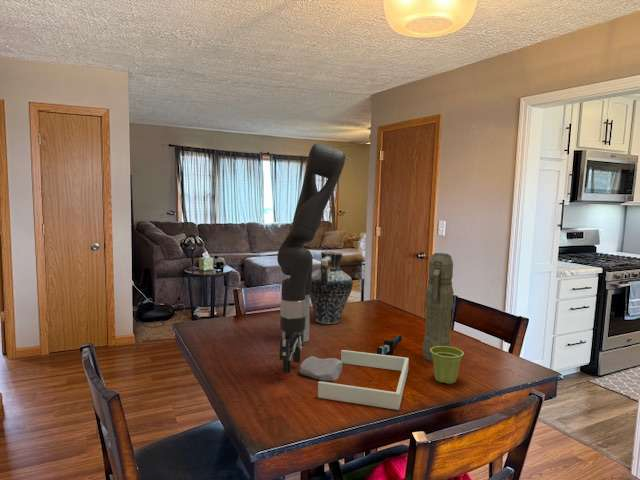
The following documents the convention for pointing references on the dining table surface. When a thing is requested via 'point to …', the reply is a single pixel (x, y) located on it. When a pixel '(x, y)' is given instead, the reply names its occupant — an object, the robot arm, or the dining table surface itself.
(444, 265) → the stone statue
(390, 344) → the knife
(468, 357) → the dining table surface
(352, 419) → the dining table surface
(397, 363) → the cream u-shaped barrier
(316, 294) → the jug
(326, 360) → the stone block
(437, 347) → the plant pot
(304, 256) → the robot arm
